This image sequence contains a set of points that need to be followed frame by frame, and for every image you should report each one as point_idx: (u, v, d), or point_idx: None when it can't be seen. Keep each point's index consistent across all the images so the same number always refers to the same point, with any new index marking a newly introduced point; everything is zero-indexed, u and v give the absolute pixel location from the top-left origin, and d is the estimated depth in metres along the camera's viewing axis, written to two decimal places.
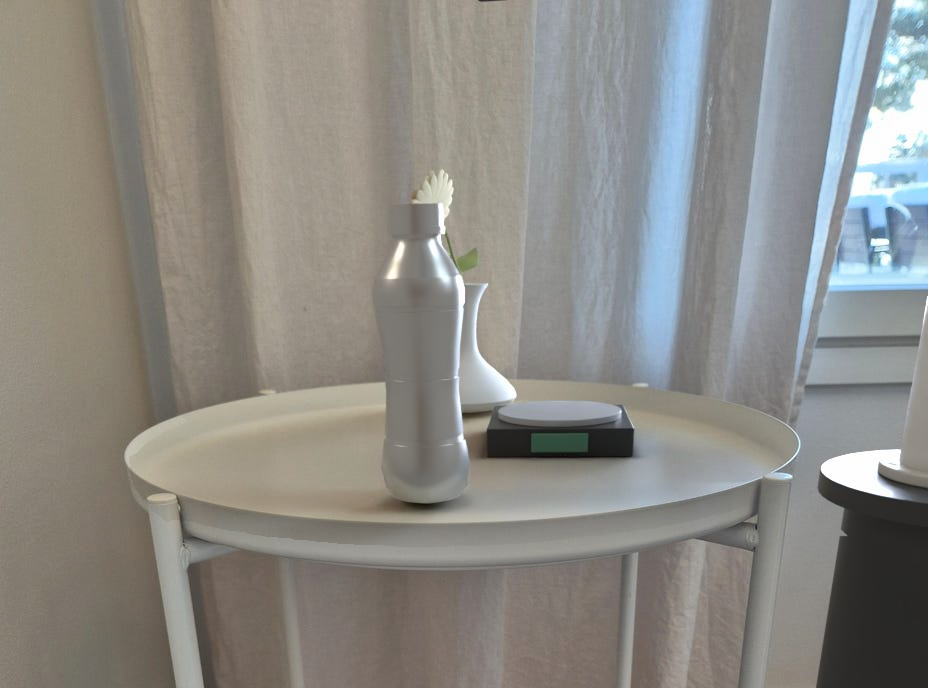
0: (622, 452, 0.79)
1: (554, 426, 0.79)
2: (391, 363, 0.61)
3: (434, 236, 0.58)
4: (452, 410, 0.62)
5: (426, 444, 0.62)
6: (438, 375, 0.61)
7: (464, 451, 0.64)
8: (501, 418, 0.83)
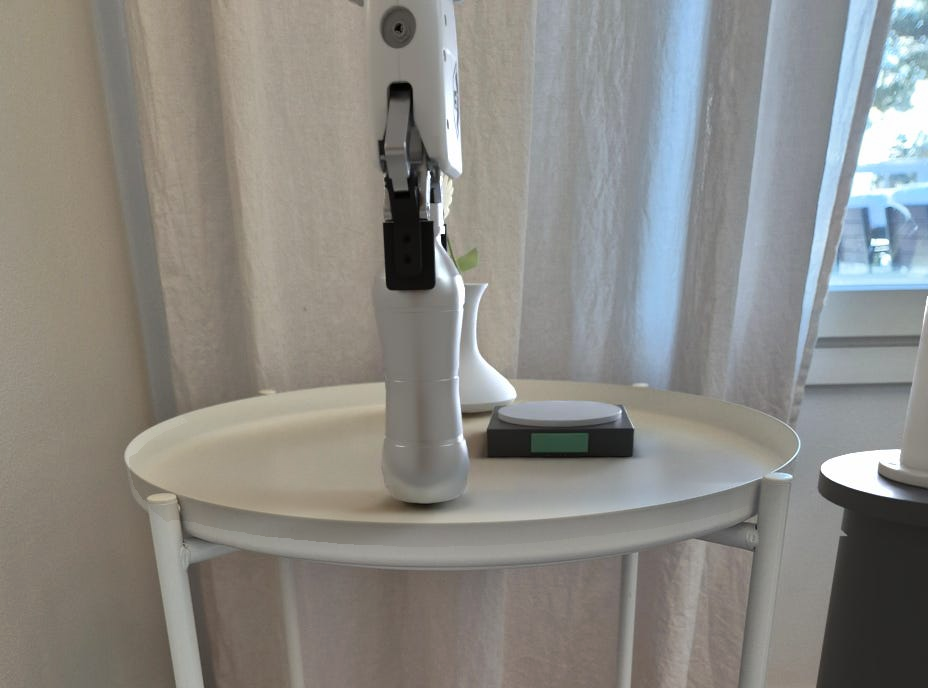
0: (622, 452, 0.79)
1: (554, 426, 0.79)
2: (391, 363, 0.61)
3: None
4: (451, 411, 0.62)
5: (426, 444, 0.62)
6: (438, 376, 0.61)
7: (464, 451, 0.64)
8: (501, 418, 0.83)
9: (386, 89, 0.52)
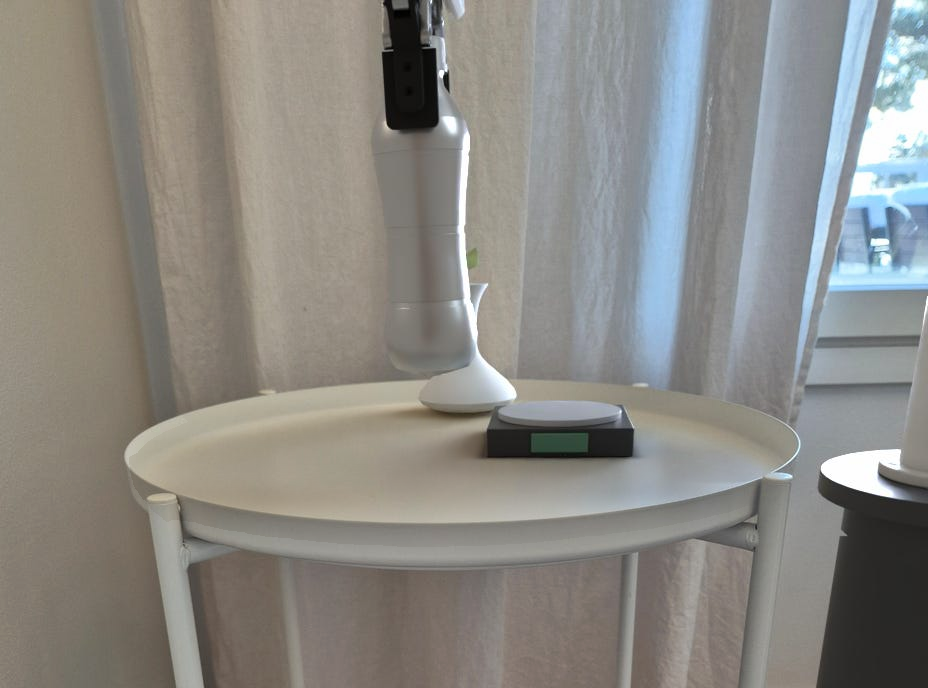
0: (622, 452, 0.79)
1: (554, 426, 0.79)
2: (393, 217, 0.57)
3: None
4: (458, 269, 0.59)
5: (431, 305, 0.59)
6: (443, 229, 0.57)
7: (471, 315, 0.60)
8: (501, 418, 0.83)
9: None
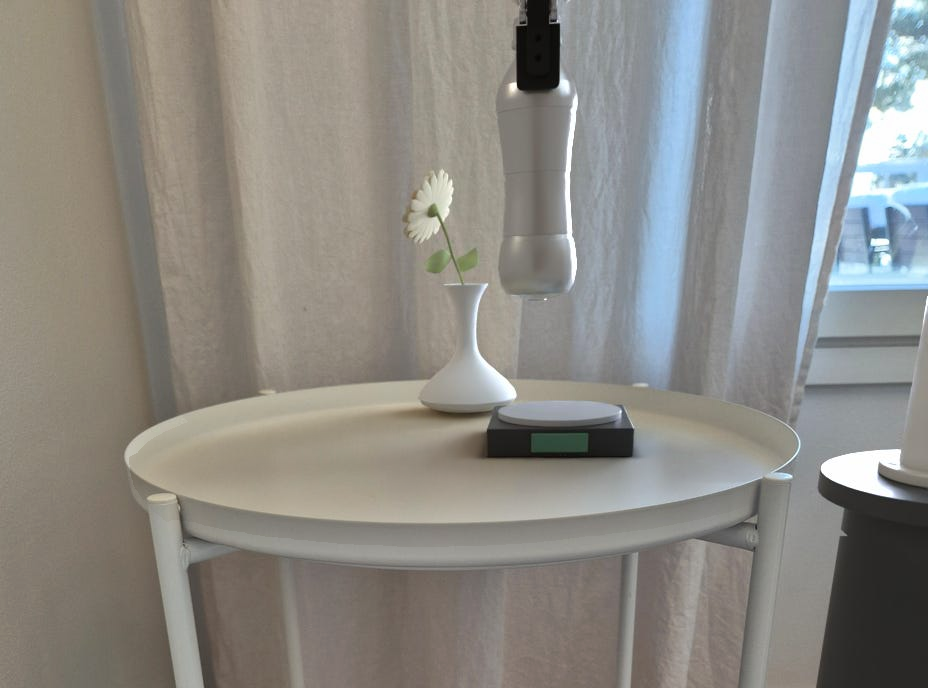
0: (622, 452, 0.79)
1: (554, 426, 0.79)
2: (513, 164, 0.70)
3: None
4: (565, 208, 0.71)
5: (543, 237, 0.71)
6: (555, 173, 0.70)
7: (573, 248, 0.73)
8: (501, 418, 0.83)
9: None
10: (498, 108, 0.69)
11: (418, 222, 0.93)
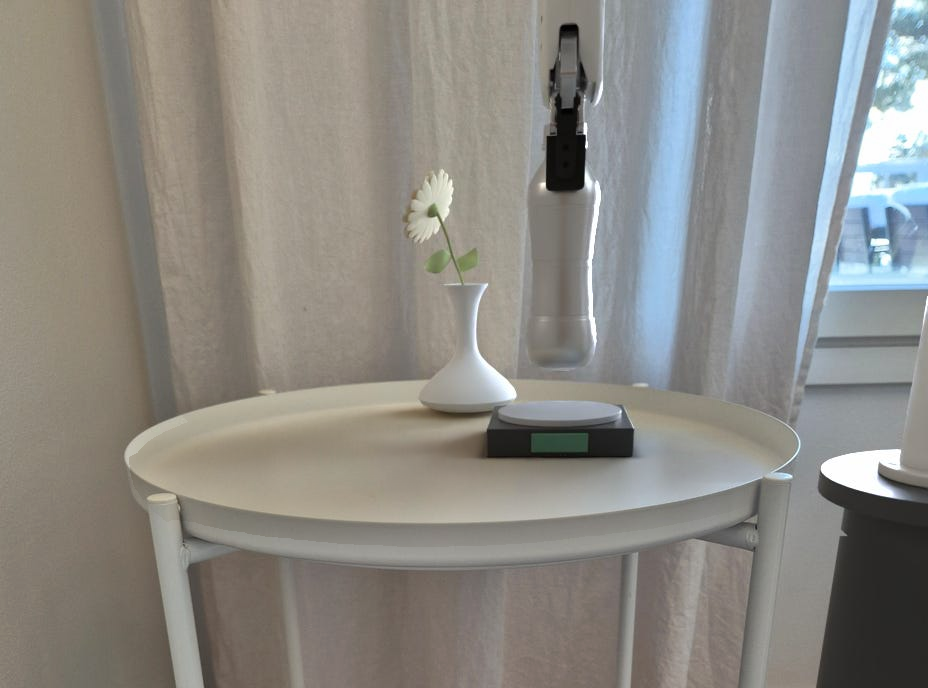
0: (622, 452, 0.79)
1: (554, 426, 0.79)
2: (541, 252, 0.77)
3: None
4: (587, 292, 0.78)
5: (567, 318, 0.78)
6: (578, 262, 0.77)
7: (594, 326, 0.80)
8: (501, 418, 0.83)
9: (558, 29, 0.68)
10: (528, 203, 0.77)
11: (418, 222, 0.93)
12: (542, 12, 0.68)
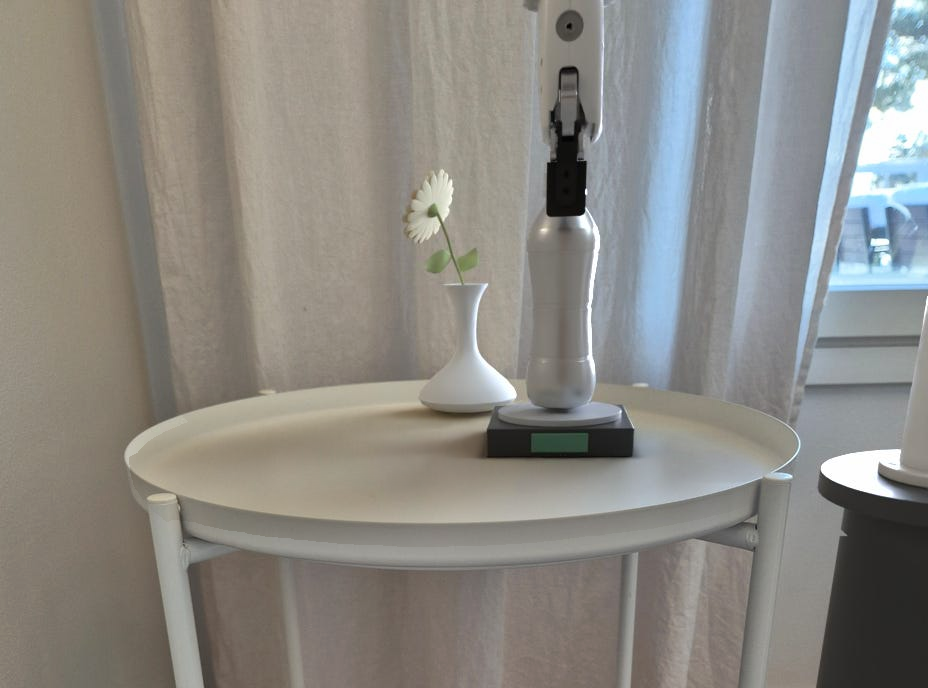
0: (622, 452, 0.79)
1: (554, 426, 0.79)
2: (542, 296, 0.79)
3: None
4: (586, 334, 0.80)
5: (567, 360, 0.80)
6: (578, 305, 0.79)
7: (593, 367, 0.82)
8: (501, 418, 0.83)
9: (558, 72, 0.69)
10: (529, 247, 0.78)
11: (418, 222, 0.93)
12: (542, 55, 0.69)
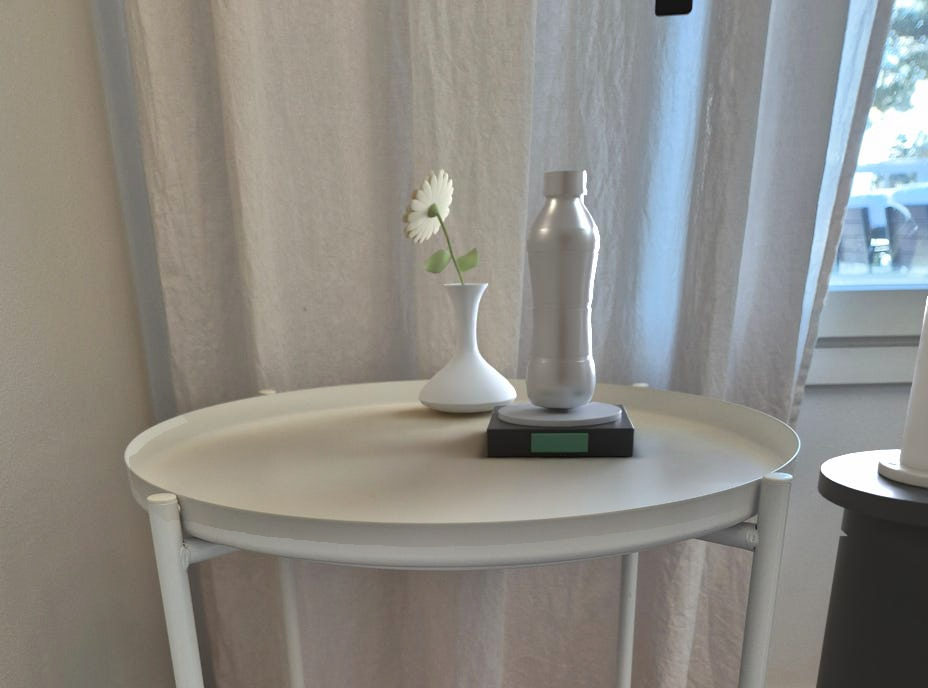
0: (622, 452, 0.79)
1: (554, 426, 0.79)
2: (542, 296, 0.79)
3: (580, 196, 0.76)
4: (586, 334, 0.80)
5: (567, 360, 0.80)
6: (578, 305, 0.79)
7: (593, 367, 0.82)
8: (501, 418, 0.83)
9: None
10: (529, 247, 0.78)
11: (418, 222, 0.93)
12: None
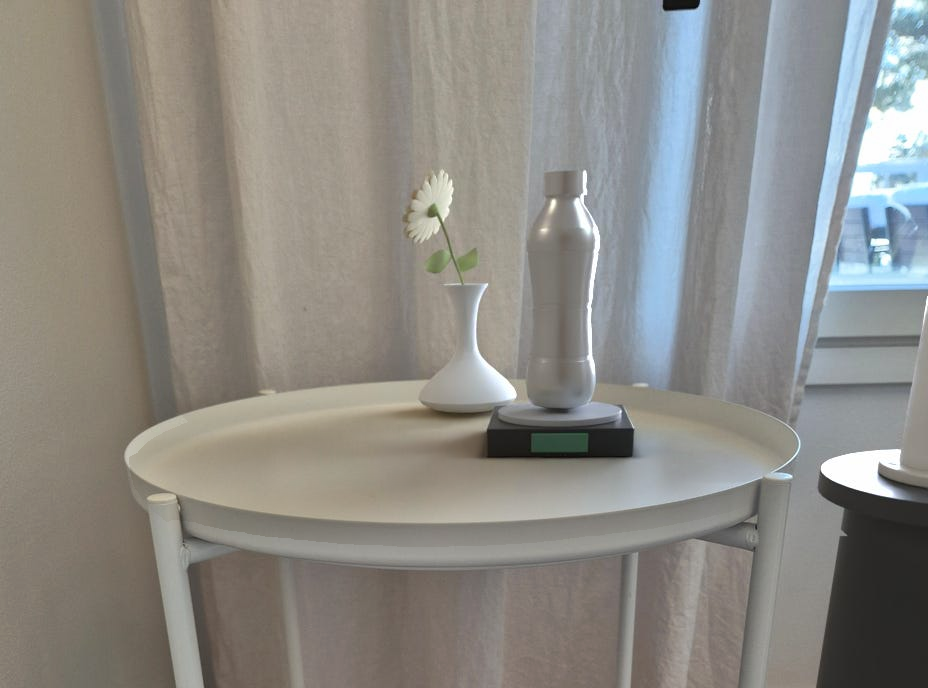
0: (622, 452, 0.79)
1: (554, 426, 0.79)
2: (542, 296, 0.79)
3: (580, 196, 0.76)
4: (586, 334, 0.80)
5: (567, 360, 0.80)
6: (578, 305, 0.79)
7: (593, 367, 0.82)
8: (501, 418, 0.83)
9: None
10: (529, 247, 0.78)
11: (418, 222, 0.93)
12: None
